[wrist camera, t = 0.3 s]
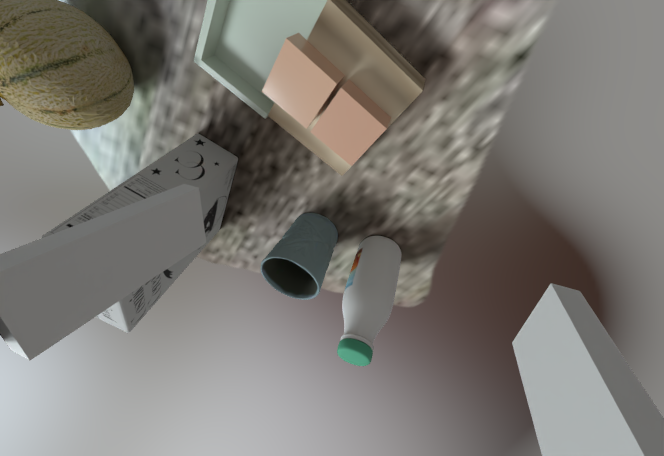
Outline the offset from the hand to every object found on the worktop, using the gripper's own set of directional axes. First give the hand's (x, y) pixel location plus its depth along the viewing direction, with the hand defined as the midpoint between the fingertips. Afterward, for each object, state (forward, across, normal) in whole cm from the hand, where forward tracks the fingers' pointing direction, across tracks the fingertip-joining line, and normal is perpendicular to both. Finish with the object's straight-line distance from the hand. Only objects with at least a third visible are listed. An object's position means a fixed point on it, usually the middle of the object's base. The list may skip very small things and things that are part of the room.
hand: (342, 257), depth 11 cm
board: (+28, -9, +4) cm, 29 cm away
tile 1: (+24, -7, +2) cm, 25 cm away
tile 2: (+23, -12, +5) cm, 26 cm away
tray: (+25, -18, +10) cm, 33 cm away
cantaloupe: (+26, -44, +4) cm, 51 cm away
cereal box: (+31, -34, -16) cm, 49 cm away
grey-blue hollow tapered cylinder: (+34, -14, -20) cm, 42 cm away
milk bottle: (+35, -1, -21) cm, 41 cm away
